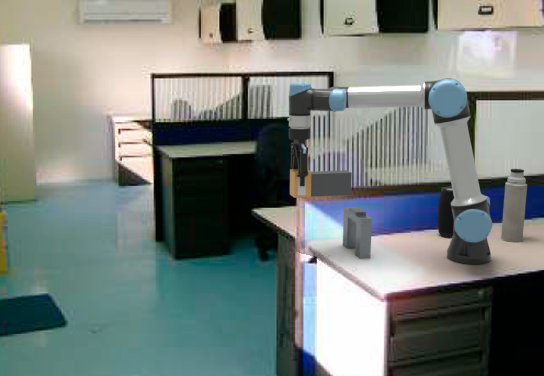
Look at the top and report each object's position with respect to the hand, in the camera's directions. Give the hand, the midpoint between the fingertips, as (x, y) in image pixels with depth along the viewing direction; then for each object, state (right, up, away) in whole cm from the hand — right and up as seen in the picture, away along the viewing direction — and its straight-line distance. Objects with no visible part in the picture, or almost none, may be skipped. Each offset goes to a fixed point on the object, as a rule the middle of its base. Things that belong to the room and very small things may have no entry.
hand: (298, 193), depth 247 cm
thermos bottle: (+85, -19, +29) cm, 92 cm away
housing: (+21, -21, +10) cm, 32 cm away
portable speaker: (+61, -17, +34) cm, 72 cm away
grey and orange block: (+8, -1, +2) cm, 8 cm away
